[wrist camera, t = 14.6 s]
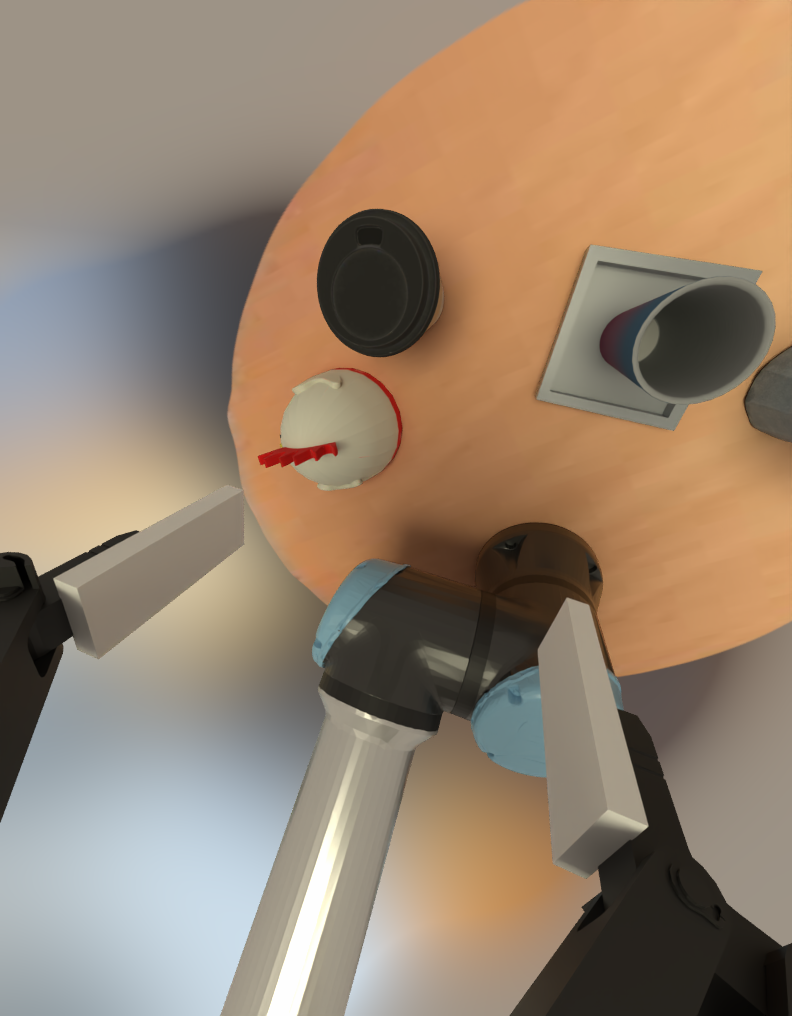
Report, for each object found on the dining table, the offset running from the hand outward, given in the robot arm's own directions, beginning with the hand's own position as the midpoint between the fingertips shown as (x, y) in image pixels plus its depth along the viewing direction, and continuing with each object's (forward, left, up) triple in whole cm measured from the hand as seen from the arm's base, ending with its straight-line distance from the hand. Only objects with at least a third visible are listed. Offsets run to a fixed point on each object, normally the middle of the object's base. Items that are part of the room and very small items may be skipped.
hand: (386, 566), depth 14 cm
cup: (+10, -13, -31) cm, 35 cm away
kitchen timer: (-5, +14, -32) cm, 35 cm away
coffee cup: (+10, +8, -32) cm, 34 cm away
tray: (+10, -13, -32) cm, 36 cm away
